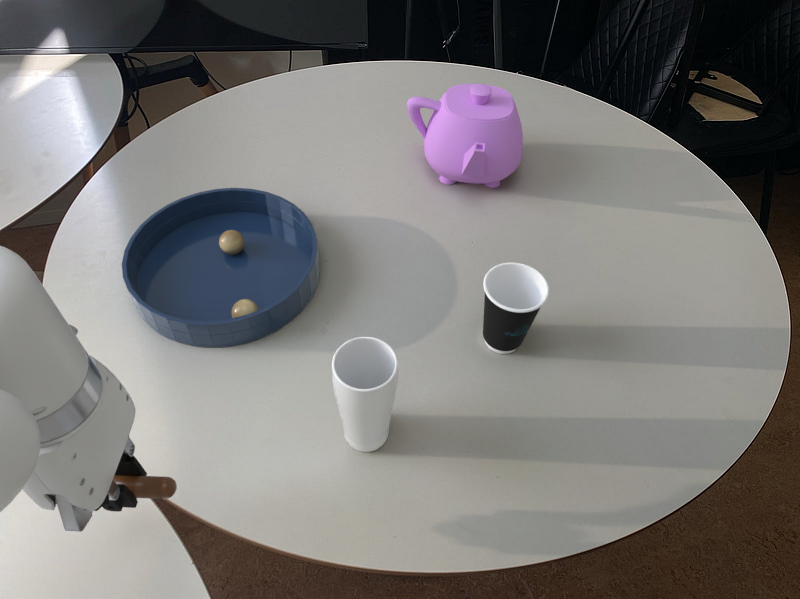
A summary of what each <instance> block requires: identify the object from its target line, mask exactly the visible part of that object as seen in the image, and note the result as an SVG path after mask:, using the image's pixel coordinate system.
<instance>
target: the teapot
mask: <svg viewBox="0 0 800 599" xmlns="http://www.w3.org/2000/svg"><path fill="white" fill-rule="evenodd" d="M421 109H429V110H433V111H432V113H431V115H430V117H429V120H428V123H427V126H426V124H425V121H424V120H423V117H422V113H421ZM406 110H407V114H408V116H409V118H410V120H411V122H412V123H413V125H414V126H415V128H416V129H417V131H418V132H419V134H420V135H421V137H422V138H423V151H424V155H425V159H426V161H427V163H428V165H429V166H430V167H431V169H432V170H433V171H434V172H435V173H436V174H438V175H439V177H438V180H439V181H440V183H442V184H444V185H454V184H456V183H457V182H459V183H465V184H474V185H475V184H482V185H483V186H485V187H486V188H491V189H494V188H495V189H496V188H498V187H499V186H500V185H501V181H502V180H504V179H506V178H508V177H509V176H510V175H512V174H513V173H514V172H515V171H516V170H517V169H518V168H519V166H520V164H521V161H522V155H523V149H524V134H523V126H522V122H521V117H520V114H519V111H518V108H517V105H516V102H515V100H514V98H513V95H512V94H511V93H510V92H509V91H508V90H506V89H504V88H501V87H500V86H495V85H490V84H486V83H485V84H484V83H462V84H455V85H453V86H451V87H449V88H448V89H447V90H446V91H445V92H444V94H442V96H441V98H440V99H439V100H436V99H433V98H430V97H429V98H428V97H424V96H412V97H410V98H409V99H408V100H407V102H406Z"/></svg>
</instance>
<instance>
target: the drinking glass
mask: <svg viewBox="0 0 800 599" xmlns="http://www.w3.org/2000/svg"><path fill="white" fill-rule="evenodd" d="M331 381H332V388H333V394H334V398H335V402H336V406H337V409H338V412H339V417H340V421H341V425H342V430H343V431H342V432H343V437H344V440H345V442H346V443H347V444H348V446H349V447H351V448H352V449H353V450H355V451H357V452H360V453H361V452H362V453H370V452H371V453H372V452H374V451H377V450H379V449H381V447H382V446H384V444H385V443H386V441H387V440H388V438H389V434H390V424H391V419H392V415H393V411H394V406H395V402H396V398H397V397H396V396H397V391H398V384H399V360H398V356H397V353H396V352H395V350H394V349H393V347H392V346H391V345H390V344H388V343H387V342H386V341H384V340H383V339H381V338H377V337H375V336H374V337H373V336H357V337H353V338H350V339H348V340H346V341H345V342H343V343H342V344H340V346H338V348H337V349H336V350H335V352H334V354H333V357H332V359H331Z"/></svg>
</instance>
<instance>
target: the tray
mask: <svg viewBox="0 0 800 599" xmlns="http://www.w3.org/2000/svg"><path fill="white" fill-rule="evenodd" d="M227 230H236V231H238V232H239V233H241V234H242V236H243V237H244V241H245V244H244V248H243V249H242V251H241V252H239V253H237V254H234V255H230V254H227V253H225V252H224V251H223V250H222V249H221V248H220V245H219V239H220V236H221V235H222V234H223V233H224V232H225V231H227ZM319 256H320V255H319V245H318V236H317V233H316V230H315V228H314V225H313V223H312V222H311V220H310V219H309V217H308V215H307V214H306V213H305V212H304V211H303V210H302V209H300V208H299V207H298V206H297V205H296V204H294V203H293V202H291V201H289V200H288V199H286V198H284V197H282V196H280V195H278V194H274V193H271V192H268V191H264V190H260V189H255V188H248V187H247V188H246V187H245V188H244V187H242V188H241V187H225V188H224V187H223V188H213V189H209V190H203V191H199V192H195V193H193V194H189V195H186V196H184V197H180V198H179V199H177V200H174V201H172V202H169V203H168V204H166V205H164V206H163V207H161V208H159V209H158V210H156V211H155V212H154V213H153V214H151V215H150V216H148V218H146V219H145V220H144V221H143V222H142V223H141V224H140V225H139V226H138V228H137V229H136V230H135V231H134V233H133V234H132V235H131V237H130V238H129V240H128V242H127V244H126V246H125V249H124V250H123V256H122V261H121V271H122V279H123V282H124V285H125V286H126V289H127V292H128V293H129V295H130V297H131V300H132V301H133V304H134V306H135V308H136V310H137V312H138V314H139V315H140V316H141V318H142V320H144V322H145V323H146V324H147V325H148V326H149V327H150V328H151V329H153V330H154V331H155V332H157V333H158V335H160V336H163V337H165V338H167V339H169V340H171V341H174V342H176V343H178V344H179V343H180V344H182V345H186V346H191V347H199V348H227V347H234V346H239V345H245V344H248V343H251V342H254V341H257V340H260V339H262V338H265V337H267V336H269V335H271V334H273V333H275V332H276V331H279V330H281V329H282V328H283V327H285V326H286V325H288V324H289V323H291V322H292V321H293V320H294V319H295V318H297V316H298V315H299V314H301V313H302V311H303V310H304V309H305V308H306V307H307V305H308V304H309V302H310V301H311V299H312V298H313V297H314V294H315V292H316V289H317V287H318V284H319V279H320V271H321V270H320V269H321V268H320V267H321V266H320V257H319ZM242 299H249V300H252V301H254V302H255V303H256V304H257V306H258V308H259V310H257V311H255V312H252V313H250V314H248V315H244V316H239V317H235V318H232V314H231V311H232V307H233V306H234V304H235V303H236V302H237V301H239V300H242Z"/></svg>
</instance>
